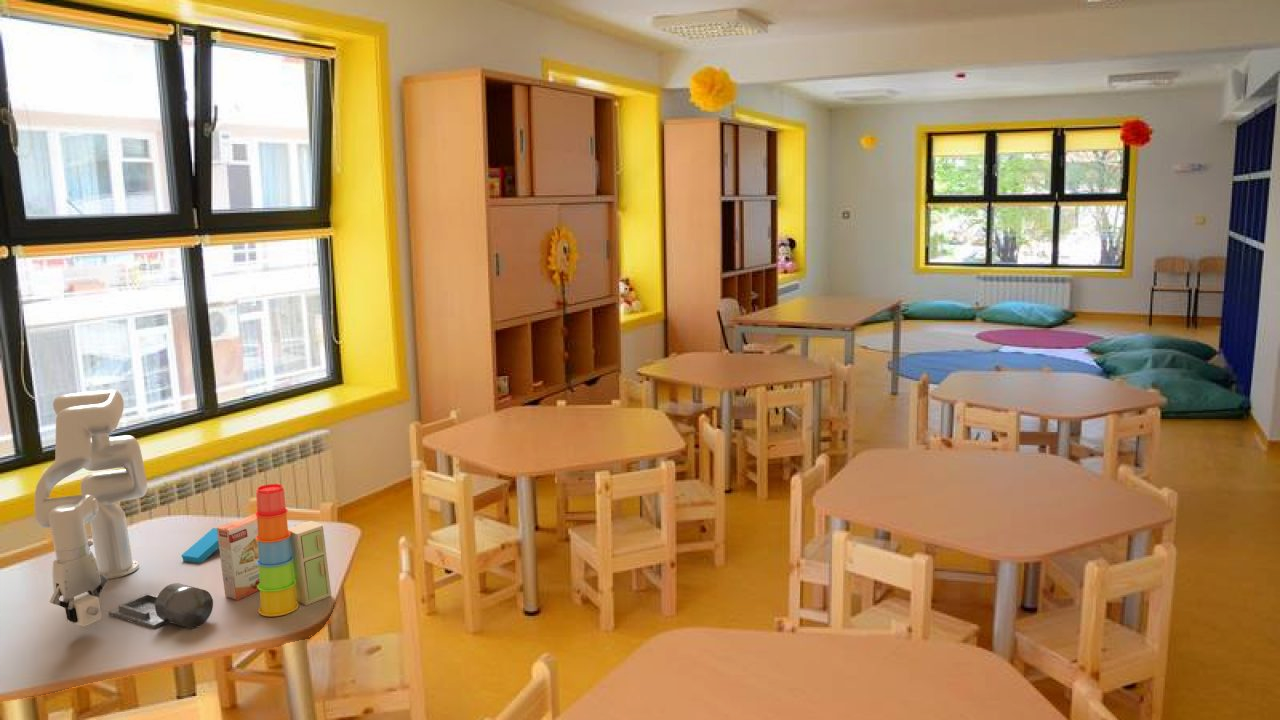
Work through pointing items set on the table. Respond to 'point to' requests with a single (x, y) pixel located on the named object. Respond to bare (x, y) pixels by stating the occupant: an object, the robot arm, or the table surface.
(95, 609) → the block
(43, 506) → the robot arm
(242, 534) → the cracker box
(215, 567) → the table surface
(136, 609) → the electric bell
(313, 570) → the toy refrigerator
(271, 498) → the stacking cups
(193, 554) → the blue ramp
